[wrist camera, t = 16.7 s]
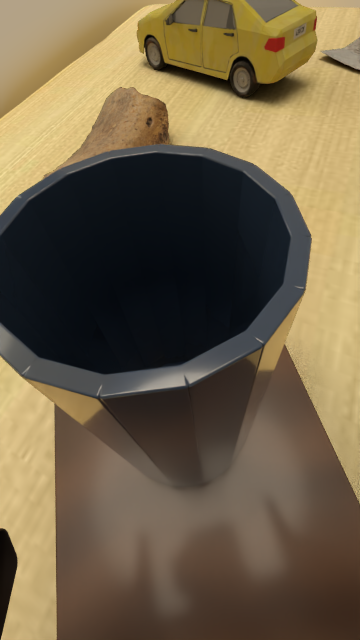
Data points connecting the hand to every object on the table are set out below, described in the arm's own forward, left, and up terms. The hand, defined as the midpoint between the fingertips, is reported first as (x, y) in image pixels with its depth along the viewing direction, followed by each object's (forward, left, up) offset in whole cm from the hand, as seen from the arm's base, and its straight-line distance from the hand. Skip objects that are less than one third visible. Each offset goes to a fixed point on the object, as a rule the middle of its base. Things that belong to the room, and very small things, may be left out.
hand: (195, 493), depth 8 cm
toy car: (+58, -7, -13) cm, 60 cm away
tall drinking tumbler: (+4, +1, -9) cm, 10 cm away
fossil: (+34, +8, -13) cm, 38 cm away
